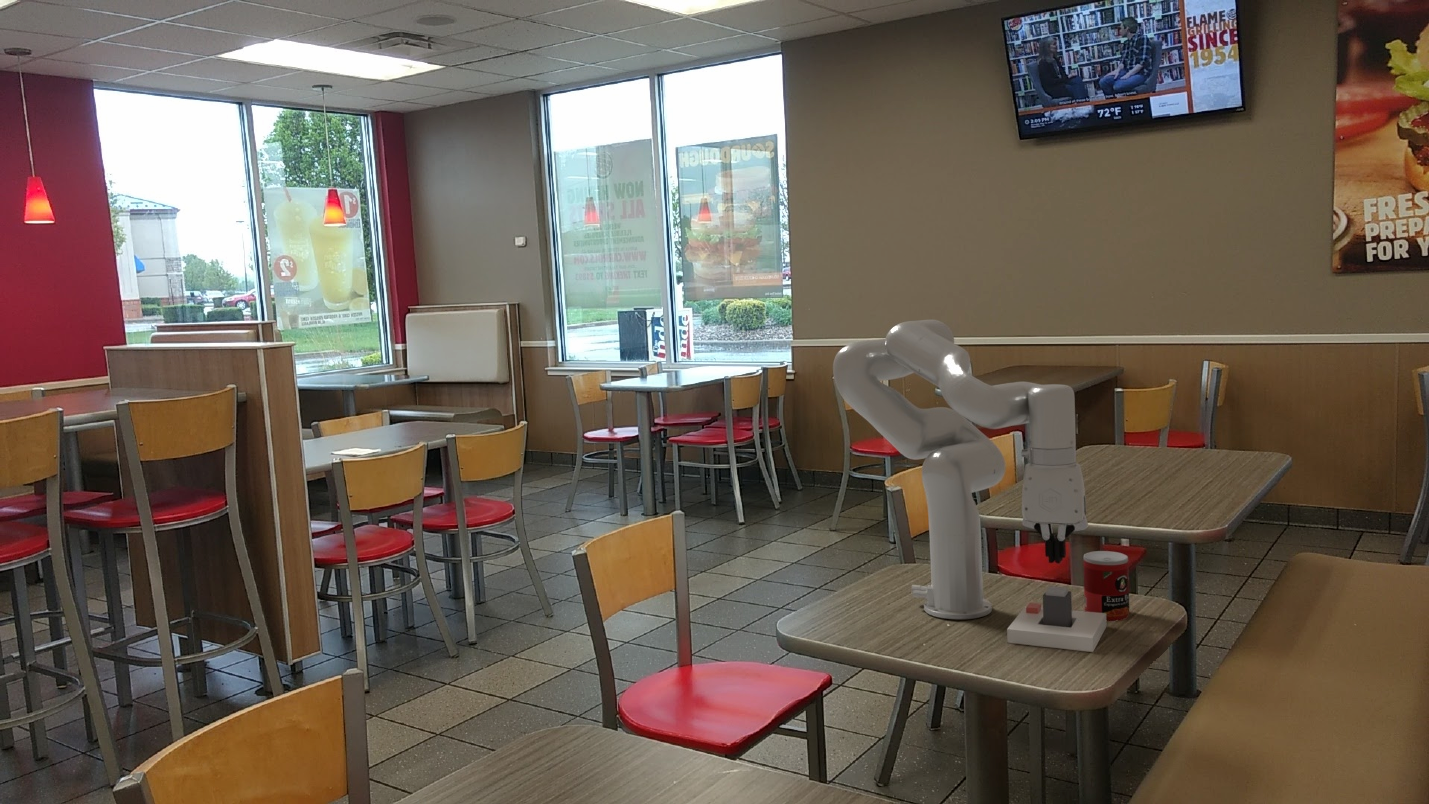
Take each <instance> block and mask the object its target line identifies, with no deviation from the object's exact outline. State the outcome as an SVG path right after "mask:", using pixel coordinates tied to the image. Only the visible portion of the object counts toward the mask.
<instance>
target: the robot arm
mask: <svg viewBox="0 0 1429 804" xmlns="http://www.w3.org/2000/svg"><path fill="white" fill-rule="evenodd" d="M954 337H955V336H954V334H953V332H952V330H951V328H950V327H949V326H948V325H947V324H946V323H944V322H942V321H941V320H938V319H923V320H921V319H920V320H908V321H903V322H900V323H898V324H896V325H894V326H893V327H892V328H890V330H888V332H887V333H886V336H885V338H881V339H871V340H861V341H855V342H853V343H849V344H847V345H845V346H843V347H842V348H841V349H840V350H839V351H838V352H837V353H836V355H835V357H834V360H833V364H832V371H833V372H832V373H833V379H834V383H835V387H836V389H837V391H838V392H839V394H840V396H841V398H842V399H843V400H844V402H845V403H846V404H847V405H848V406H850V407H851V409H852V410H854V411H855V412H856V413H858V415H860V416H861V417H862V418H863V419H864V420H866V421H867V422H868V423H869V424H870V425H871V426H872V427H873V428H874V429H875V430H876V431H877V432H878V433H879V434H880V435H881V436H882V437H884V438H885V440H887V442H889V444H890V445H892V447H894V448H895V450H897V451H898V452H899V453H900V454H901V455H902V456H904V458H907V459H910V460H922V459H923V460H924V461H923V463H922V466H921V481H922V485H923V488H924V489H923V490H924V494H925V499H926V504H927V505H926V506H927V515H928V531H929V532H928V533H929V551H930V552H929V553H930V554H929V556H930V557H929V558H930V579H931V580H930V581H931V582H930V583H931V584H927V586H926V585H919V584H912V585H911V587H910V588H911V589H910V591H911V592H910V593H911V595H913V597H914V598H917V599H918V598H919V599H921V598H923V599H925V601H924V604H923V610H924V611H925V612H926V614H928V615H930V616H933V617H935V618H939V619H948V620H971V619H972V620H973V619H979V618H982V617H986V616H988V615H989V614H990V613H991V612H992V610H993V604H992V603H991V602H990V601H989V600H987V599H986V598H984V590H983V589H984V587H983V586H984V585H983V558H982V557H983V556H982V532H981V531H982V530H981V529H982V528H981V517H980V516H981V515H980V513H979V508H978V506H977V504H976V502H975V500H974V498H973V494H974V493H976V492H980V491H983V490H987V489H989V488H993V487H994V486H996V485H998V484H999V483H1000V482H1001V481H1002V480H1003V478H1004V476H1005V473H1006V461H1005V458H1004V456H1003V453H1002V451H1001V449H1000V448H998V447H999V446H997V445H996V444H995V443H994V442H993V441H992V440H991V439H990V438H989V437H988V436H987V435H986V434H984V433H983V432H982V431H981V430H980V429H978V427H977V426H980V427H983V428H985V429H990V430H997V429H1002V428H1003V429H1004V428H1008V427H1011V426H1020V425H1024V424H1028V430H1029V446H1028V447H1027V448H1026V449H1021V452H1020V453H1021V458H1026V459H1028V463H1026V464H1025V467H1024V470H1023V471H1024V472H1023V479H1022V490H1021V491H1022V492H1021V493H1022V494H1021V515H1022V517H1021V518H1022V522H1021V524H1022V526H1023V527H1026V528H1029V529H1033V530H1035V531H1036V532H1037V533H1039V535H1040V536H1041V537H1042V539H1043V540H1044V551H1045V552H1044V553H1045V557H1046V558H1048V564H1053V563H1056V564H1060V563H1062V561H1063V560H1064V559H1065V558H1066V557H1067V556H1066V555H1067V550H1066V549H1067V546H1066V543H1067V542H1066V539H1067V538H1068V536H1070V535H1071V534H1072V533H1073V532H1078V531H1083V530H1087V528H1088V527H1089V522H1088V520H1087V517H1086V515H1087V500H1086V499H1087V498H1086V488H1085V483H1084V476H1083V472H1082V467H1081V464H1080V463H1078V462H1077V446H1076V443H1077V442H1076V440H1077V439H1076V438H1077V437H1076V407H1075V405H1076V404H1075V402H1076V401H1075V400H1076V399H1075V392H1074V389H1073V388H1072V387H1071V386H1070V385H1067V384H1060V383H1059V384H1056V383H1052V384H1051V383H1050V384H1040V383H1034V382H1030V381H1015V382H1007V383H1000V384H995V385H990V384H989V383H985V382H983V381H982V380H981V379H978V378H976V377H975V376H973V374H970V373H969V369H970V365H971V358H970V354H969V352H968V351H967V350H966V349H965V348H964V347H961V346H960V345H957V344H956V343H955V338H954ZM912 374H916V375H918V376H919V377H921V378H922V379H924V380H926V381H928V383H929V382H930V383H931V384H933V385H934V386H936V387H937V388H939V391H940V393H941V395H942V397H943V399H944V400H945V402H946V404H947V405H948V406H949V407H950V408H949V407H944V406H937V407H931V408H930V407H929V408H920V407H918V406H916V405H915V404H913V403H912V402H911V401H909V400H908V399H907V397H905V396H904V395H903V394H902V393H900V392H899V390H896V389H895V388H892V386H889V385H887V384H885V383H883V381H889V380H891V381H892V380H897V379H901V378H905V377H907V376H909V375H912ZM973 423H974V424H976V425H977V426H975V425H974V424H973ZM972 493H973V494H972ZM1053 525H1058V527H1057V528H1058V529H1057V536H1055V534H1054V533H1053V527H1052V526H1053Z"/></svg>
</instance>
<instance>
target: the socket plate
mask: <svg viewBox="0 0 1429 804" xmlns="http://www.w3.org/2000/svg"><path fill="white" fill-rule="evenodd" d="M1106 628H1107V621H1106V613H1097V612H1086V611H1085V610H1084V611H1083V610H1074V609H1072V627H1071V628H1070V627H1060V626H1050V625H1044V623H1043V606H1042V603H1038V602H1037V603H1036V602H1029V603H1028V605H1025V606H1024V607H1023V609H1021V611H1020V612H1019V614H1018V615H1017V616H1016V617H1015V619H1013V621H1012V622H1011V623H1010V625H1008V627H1007V628H1006V634H1007V635H1006V636H1007V638H1006V639H1007V642H1006V643H1007V644H1008V643H1009V644H1018V645H1024V646H1025V645H1027V646H1028V645H1029V646H1033V647H1035V646H1036V647H1045V648H1053V649H1060V650H1061V649H1062V650H1063V649H1064V650H1070V651H1071V650H1073V651H1081V652H1090V653H1093V652H1094V650H1095V649H1096V647H1097V645H1098V644H1099V641H1100V640H1101V637H1102V636H1103V634H1104V632H1105V630H1106Z"/></svg>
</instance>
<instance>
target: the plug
mask: <svg viewBox="0 0 1429 804" xmlns="http://www.w3.org/2000/svg"><path fill="white" fill-rule="evenodd" d="M1072 607H1073V605H1072V591H1069V587H1067V586H1066V587H1065V586H1058V585H1057V586H1054V585H1049V586H1048V587H1047V588H1046V589H1045V591H1044V593H1043V595H1042V608H1043V623H1044V625H1050V626H1060V627H1070V628H1071V627H1072V610H1073V608H1072Z"/></svg>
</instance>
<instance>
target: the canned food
mask: <svg viewBox="0 0 1429 804" xmlns="http://www.w3.org/2000/svg"><path fill="white" fill-rule="evenodd" d="M1082 561H1083V566H1082V567H1083V589H1084V590H1083V593H1084V594H1083V595H1084V598H1083V600H1084V611H1086V612H1097V613H1106V620H1107V621H1108V622H1114V621H1115V622H1116V620H1118V621H1122V620H1123V621H1124V620H1126V619H1127V618H1128V617H1129V614H1130V574H1129V573H1130V571H1129V570H1130V567H1129V556H1128V555H1126V554H1124V553H1121V552H1117V551H1109V550H1097V551H1096V550H1095V551H1090V552H1089V551H1088V552H1086V553H1084V554H1083V560H1082ZM1107 621H1106V622H1107Z"/></svg>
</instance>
